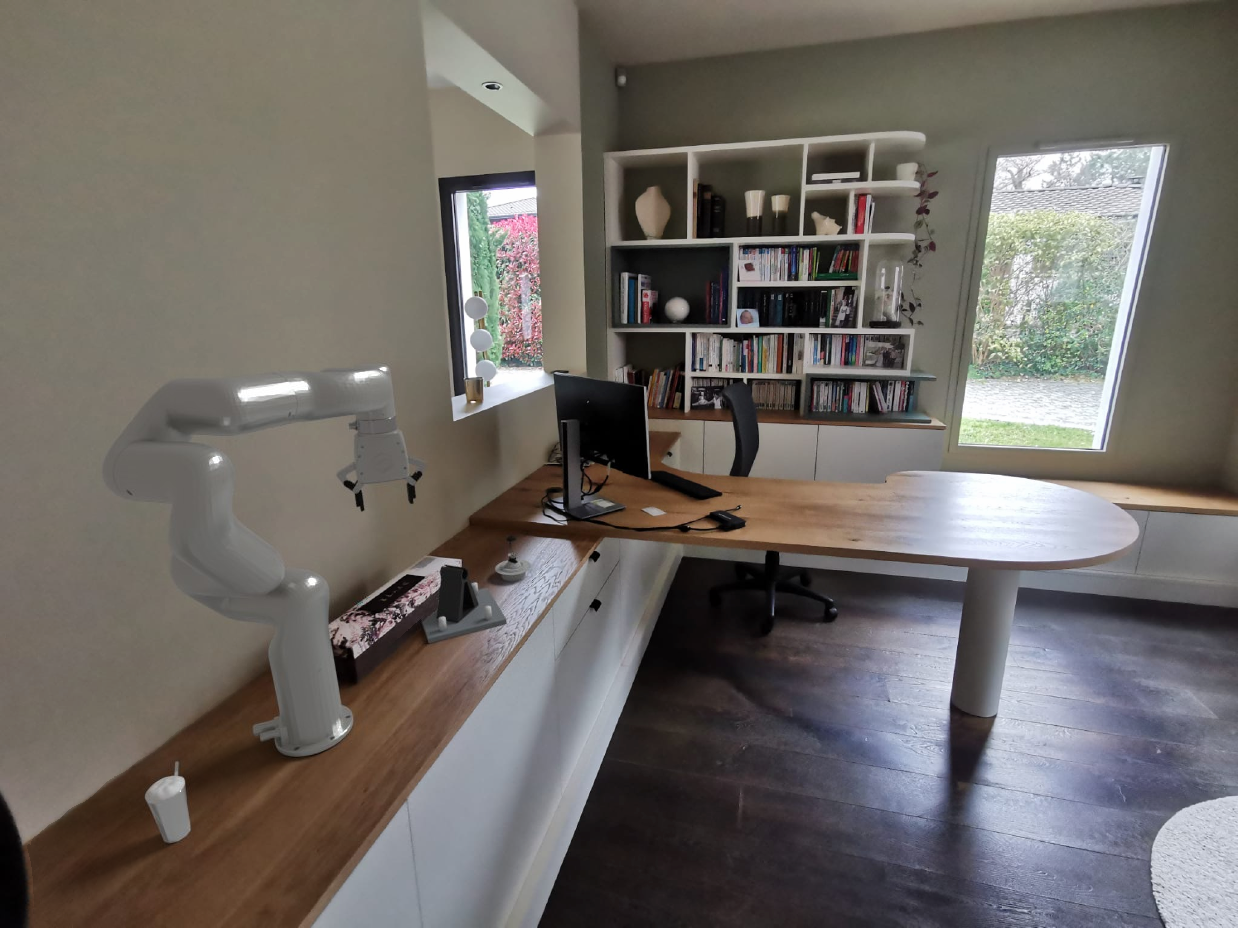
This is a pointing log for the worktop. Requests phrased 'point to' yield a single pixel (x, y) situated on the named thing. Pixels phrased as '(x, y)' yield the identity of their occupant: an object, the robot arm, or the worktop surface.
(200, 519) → the robot arm
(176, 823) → the milkshake
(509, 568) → the grey spinning top
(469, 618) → the base plate
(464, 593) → the phone stand
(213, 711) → the worktop surface
